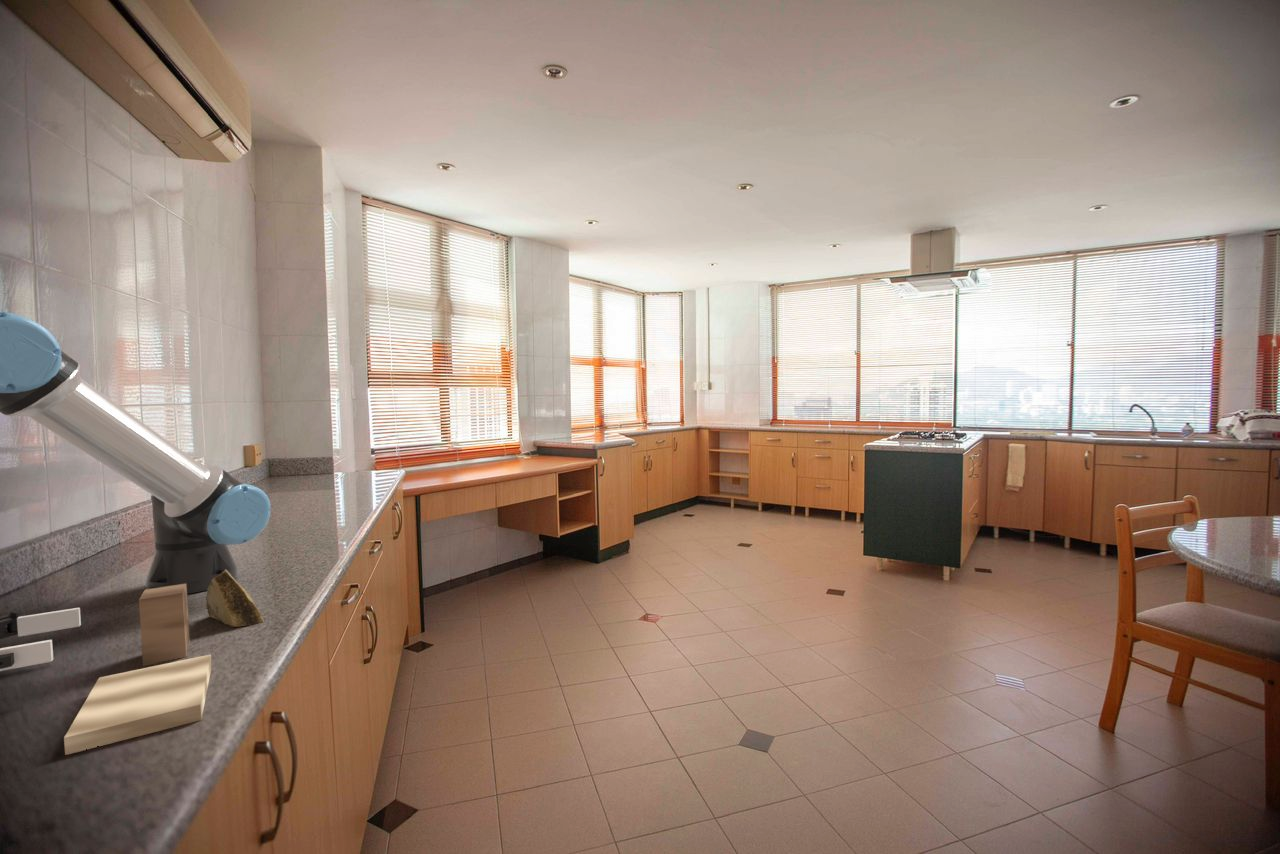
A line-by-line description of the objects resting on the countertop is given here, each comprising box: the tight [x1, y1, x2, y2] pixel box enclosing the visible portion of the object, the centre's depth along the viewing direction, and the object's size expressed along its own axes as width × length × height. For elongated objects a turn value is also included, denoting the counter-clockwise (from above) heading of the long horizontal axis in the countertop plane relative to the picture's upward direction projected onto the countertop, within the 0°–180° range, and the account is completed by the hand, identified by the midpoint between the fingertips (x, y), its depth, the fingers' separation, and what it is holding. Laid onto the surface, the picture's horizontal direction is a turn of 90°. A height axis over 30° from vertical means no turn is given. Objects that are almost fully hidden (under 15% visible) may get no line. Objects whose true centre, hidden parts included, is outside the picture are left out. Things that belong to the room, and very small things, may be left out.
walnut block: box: [138, 584, 191, 667], centre depth 87 cm, size 5×5×10 cm
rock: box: [205, 569, 265, 628], centre depth 101 cm, size 11×9×10 cm
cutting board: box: [63, 653, 213, 756], centre depth 73 cm, size 16×12×2 cm
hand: (67, 632), depth 81 cm, fingers open, 13 cm apart
